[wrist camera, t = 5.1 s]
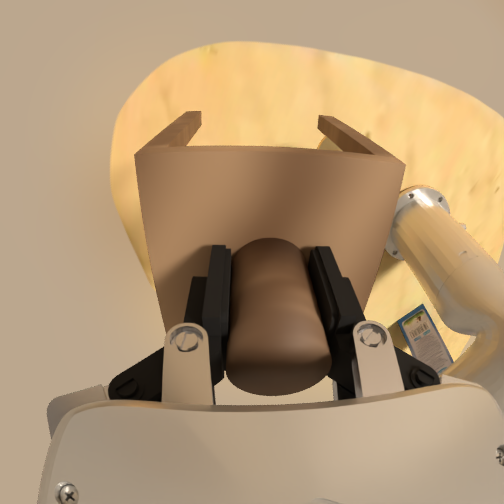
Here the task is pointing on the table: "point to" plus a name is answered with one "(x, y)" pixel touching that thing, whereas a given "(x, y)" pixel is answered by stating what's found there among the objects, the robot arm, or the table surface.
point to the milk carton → (425, 339)
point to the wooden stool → (266, 238)
